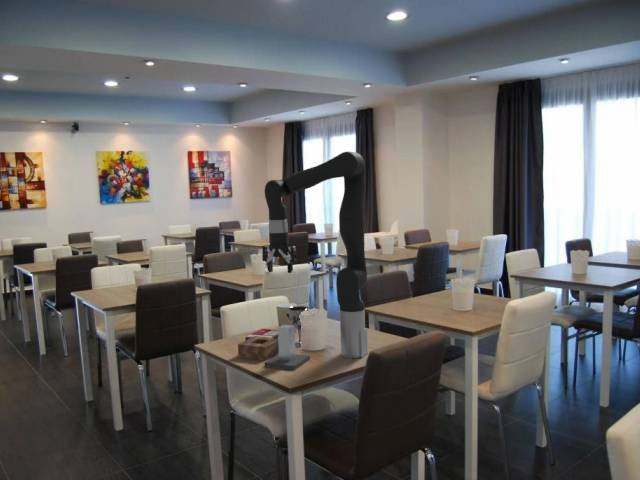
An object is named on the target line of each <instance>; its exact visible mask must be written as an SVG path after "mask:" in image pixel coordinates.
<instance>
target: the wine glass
mask: <svg viewBox="0 0 640 480" xmlns="http://www.w3.org/2000/svg"><path fill="white" fill-rule="evenodd" d="M309 310H310V309H309V307H308V306H303V305H297V306H295V307H290V308H289V317H290V321H291V323H292V324H293V325H294V326H295V327H296V329H297V334H298V341H297V342H296V341H295V348H302V347H301V342H302V331H301V322H300V318H299V315H300V314H301V312H303V311H309Z"/></svg>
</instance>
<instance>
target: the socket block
mask: <svg viewBox="0 0 640 480" xmlns="http://www.w3.org/2000/svg"><path fill="white" fill-rule="evenodd" d="M237 351H238V352H237V353H238V354H237V355H238V358H242V359H243V358H244V359H251V360H259V361H268V360H269V359H271V358H273V357H274V356H276V355H278V354H279V344H278V338H270V337H260V336H254V337H252V338H250V339H248V340H246V341H245V340H243V341H242V342H240V343H238V344H237Z"/></svg>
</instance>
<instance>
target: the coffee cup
mask: <svg viewBox="0 0 640 480" xmlns="http://www.w3.org/2000/svg"><path fill="white" fill-rule="evenodd" d="M295 306H298V304H297V303H292V302H285V303H279V304H277V306H276V313H277V314H276V315H277V323H278V327H280V326H282V325H293V324H292V323H291V321H290V317H289V308H290V307H295ZM296 333H298V330H297V329H296V327H295V334H296Z"/></svg>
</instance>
